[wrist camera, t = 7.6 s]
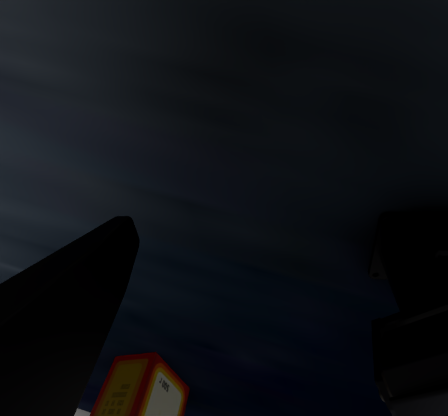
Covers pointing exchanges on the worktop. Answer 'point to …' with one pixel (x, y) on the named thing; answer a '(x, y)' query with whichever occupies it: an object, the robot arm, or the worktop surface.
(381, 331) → the robot arm
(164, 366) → the baking soda box
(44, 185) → the worktop surface
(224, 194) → the worktop surface
